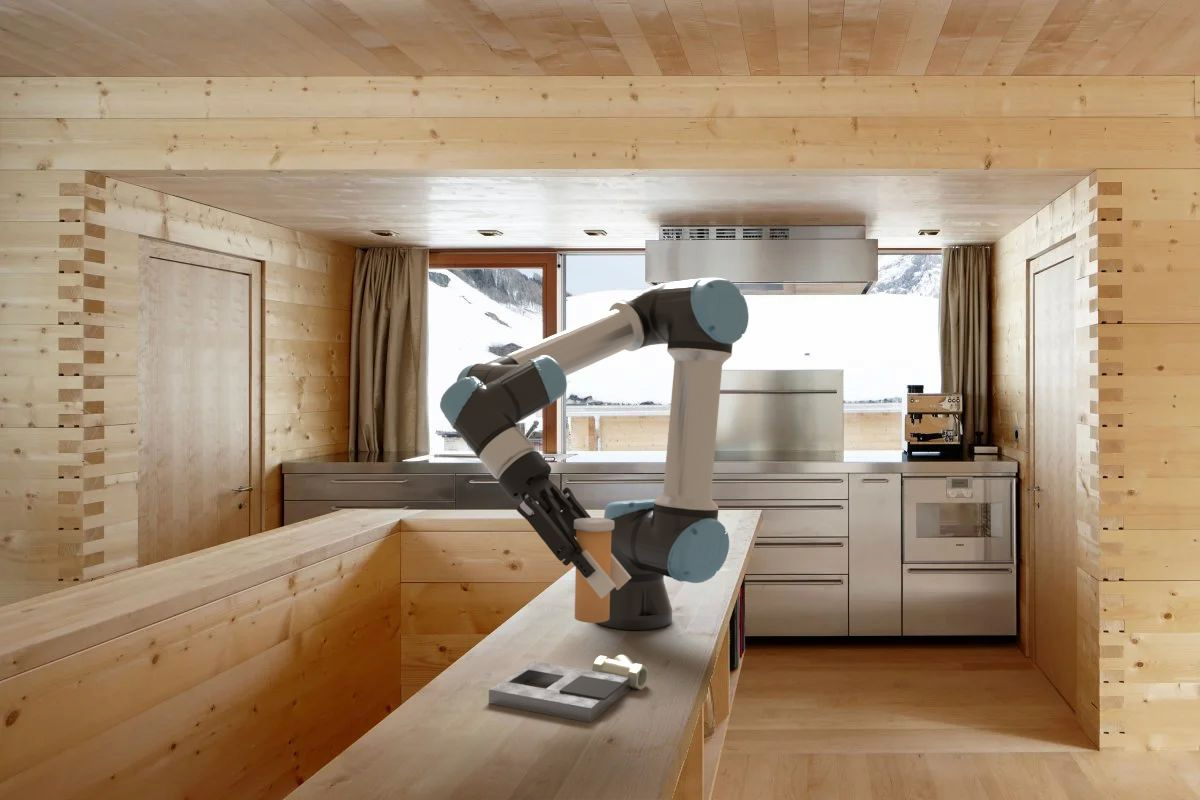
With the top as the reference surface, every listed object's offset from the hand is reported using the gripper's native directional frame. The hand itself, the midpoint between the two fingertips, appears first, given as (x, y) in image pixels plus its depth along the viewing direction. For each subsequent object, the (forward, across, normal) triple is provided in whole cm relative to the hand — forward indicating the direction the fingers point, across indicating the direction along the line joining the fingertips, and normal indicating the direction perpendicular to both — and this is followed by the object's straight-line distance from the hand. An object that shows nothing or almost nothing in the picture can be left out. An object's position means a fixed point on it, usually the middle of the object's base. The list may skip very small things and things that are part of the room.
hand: (616, 587), depth 129 cm
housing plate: (+6, 0, -18) cm, 19 cm away
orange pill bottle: (+1, 0, -6) cm, 6 cm away
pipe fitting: (+10, -11, -14) cm, 21 cm away
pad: (+8, 0, -13) cm, 15 cm away
